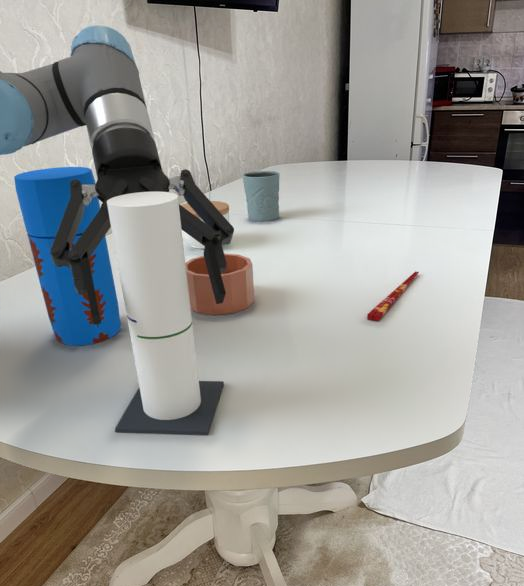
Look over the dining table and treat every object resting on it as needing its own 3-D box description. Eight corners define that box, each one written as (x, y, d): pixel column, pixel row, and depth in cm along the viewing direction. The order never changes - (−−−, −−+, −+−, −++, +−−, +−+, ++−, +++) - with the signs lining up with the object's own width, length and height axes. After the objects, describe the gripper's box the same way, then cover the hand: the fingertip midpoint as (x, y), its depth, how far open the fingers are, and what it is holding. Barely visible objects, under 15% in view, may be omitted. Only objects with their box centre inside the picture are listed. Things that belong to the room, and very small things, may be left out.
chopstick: (420, 274, 103) (420, 270, 102) (378, 321, 85) (378, 316, 84) (410, 273, 104) (410, 268, 103) (366, 319, 86) (367, 314, 85)
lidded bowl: (203, 234, 135) (199, 191, 130) (242, 241, 128) (239, 195, 123) (168, 247, 126) (162, 201, 121) (208, 255, 119) (204, 206, 114)
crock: (174, 301, 96) (170, 264, 93) (228, 284, 103) (225, 249, 99) (211, 320, 88) (207, 281, 84) (267, 301, 94) (265, 263, 91)
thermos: (70, 353, 79) (28, 183, 68) (43, 331, 87) (1, 174, 75) (134, 330, 86) (105, 171, 74) (104, 312, 93) (74, 164, 81)
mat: (115, 432, 61) (114, 428, 61) (143, 382, 71) (143, 379, 71) (207, 435, 60) (207, 431, 60) (224, 384, 70) (223, 381, 69)
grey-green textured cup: (274, 223, 142) (272, 177, 137) (239, 221, 146) (236, 176, 140) (285, 214, 151) (284, 170, 145) (252, 212, 154) (249, 170, 148)
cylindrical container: (178, 381, 70) (152, 188, 58) (212, 401, 65) (191, 196, 53) (131, 404, 65) (93, 200, 54) (165, 427, 61) (131, 210, 49)
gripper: (220, 158, 69) (262, 303, 64) (19, 176, 62) (45, 341, 57) (228, 116, 62) (276, 276, 57) (3, 132, 55) (31, 314, 50)
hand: (160, 309), depth 57 cm, fingers open, 13 cm apart
